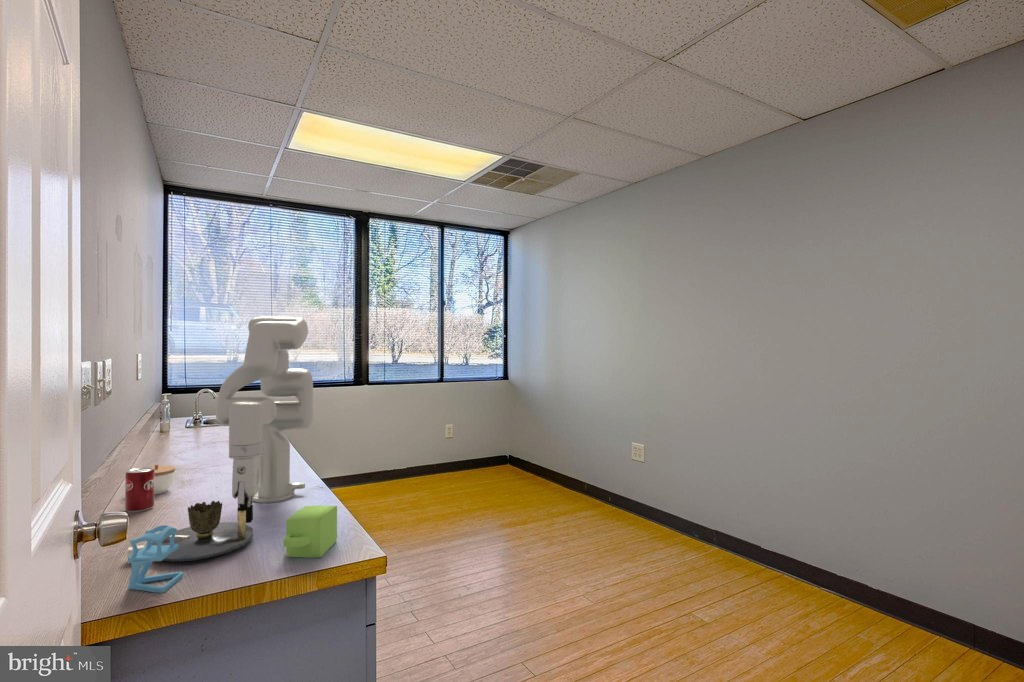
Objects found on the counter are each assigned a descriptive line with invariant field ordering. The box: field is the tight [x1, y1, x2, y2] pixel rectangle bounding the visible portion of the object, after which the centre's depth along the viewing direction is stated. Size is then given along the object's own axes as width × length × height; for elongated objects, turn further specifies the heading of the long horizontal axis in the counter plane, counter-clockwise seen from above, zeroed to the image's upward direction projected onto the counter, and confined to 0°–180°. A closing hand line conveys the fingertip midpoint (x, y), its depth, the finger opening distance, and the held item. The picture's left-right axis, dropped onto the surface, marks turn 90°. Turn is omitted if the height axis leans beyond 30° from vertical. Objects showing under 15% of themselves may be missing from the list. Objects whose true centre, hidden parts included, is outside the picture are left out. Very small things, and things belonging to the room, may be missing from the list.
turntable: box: [152, 510, 254, 562], centre depth 126 cm, size 22×22×8 cm
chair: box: [127, 524, 184, 594], centre depth 107 cm, size 8×8×12 cm
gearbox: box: [282, 505, 338, 559], centre depth 127 cm, size 18×10×10 cm, turn 178°
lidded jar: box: [150, 463, 176, 495], centre depth 173 cm, size 11×11×9 cm
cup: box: [187, 500, 223, 539], centre depth 127 cm, size 8×7×8 cm
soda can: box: [124, 466, 156, 513], centre depth 156 cm, size 7×7×12 cm
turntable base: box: [127, 544, 145, 564], centre depth 124 cm, size 22×14×3 cm, turn 125°
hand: (245, 522), depth 129 cm, fingers closed
